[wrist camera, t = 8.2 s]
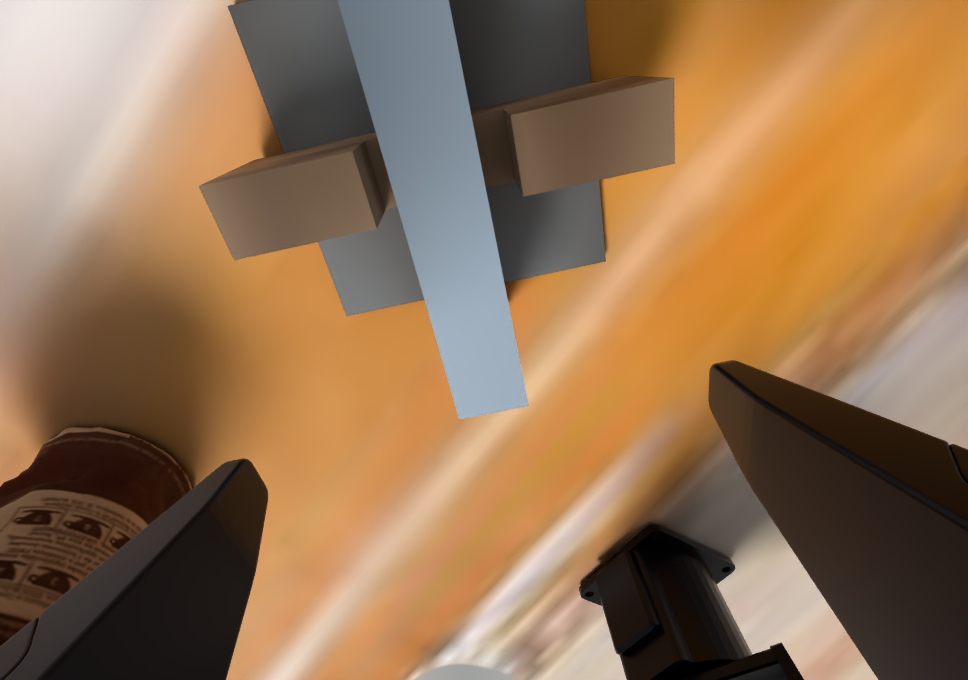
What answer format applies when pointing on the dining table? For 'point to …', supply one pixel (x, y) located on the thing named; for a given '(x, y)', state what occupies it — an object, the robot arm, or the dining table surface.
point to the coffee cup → (76, 514)
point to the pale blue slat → (439, 191)
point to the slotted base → (498, 129)
